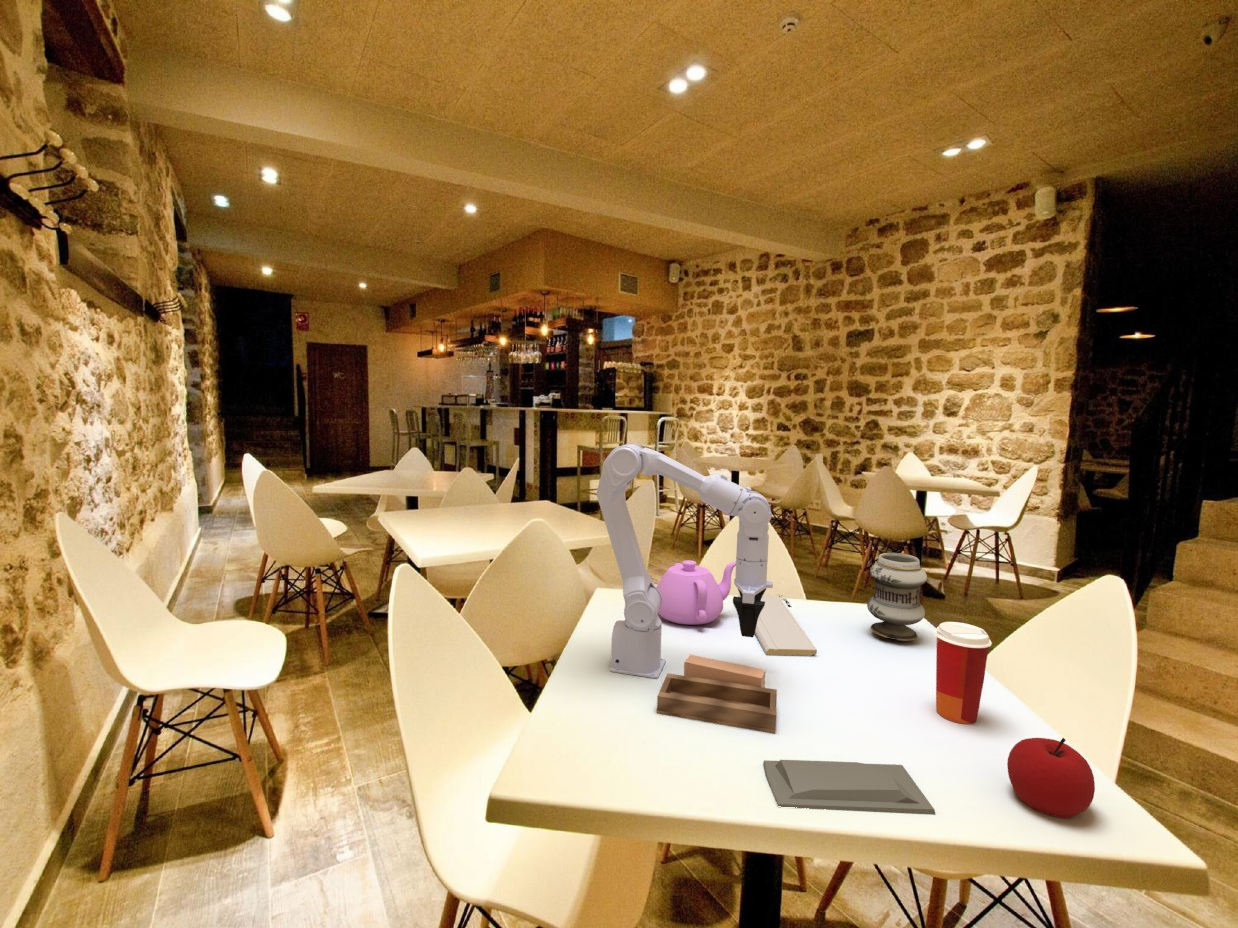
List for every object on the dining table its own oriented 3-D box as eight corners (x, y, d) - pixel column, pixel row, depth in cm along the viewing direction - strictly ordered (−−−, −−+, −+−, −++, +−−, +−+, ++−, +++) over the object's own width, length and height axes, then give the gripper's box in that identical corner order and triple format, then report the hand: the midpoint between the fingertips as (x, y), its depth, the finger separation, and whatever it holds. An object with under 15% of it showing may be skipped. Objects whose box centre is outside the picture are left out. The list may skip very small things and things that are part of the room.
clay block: (683, 687, 105) (684, 661, 105) (689, 679, 108) (690, 654, 108) (760, 705, 99) (761, 678, 99) (764, 696, 102) (765, 669, 102)
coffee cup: (977, 707, 100) (984, 624, 98) (990, 732, 92) (999, 642, 90) (923, 698, 102) (930, 617, 101) (932, 721, 95) (939, 634, 93)
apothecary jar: (866, 637, 130) (871, 559, 128) (865, 619, 141) (870, 548, 139) (925, 646, 125) (932, 566, 123) (920, 627, 136) (925, 553, 134)
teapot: (757, 629, 133) (759, 571, 132) (668, 636, 128) (670, 576, 127) (719, 598, 154) (721, 548, 153) (642, 603, 149) (643, 551, 148)
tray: (656, 716, 95) (657, 696, 94) (667, 691, 103) (667, 672, 103) (775, 736, 89) (776, 715, 89) (775, 708, 98) (776, 688, 98)
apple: (1046, 781, 80) (1053, 713, 79) (1111, 828, 71) (1120, 752, 70) (988, 787, 78) (994, 718, 77) (1047, 835, 70) (1055, 758, 69)
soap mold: (938, 828, 71) (940, 802, 71) (777, 822, 72) (779, 796, 71) (900, 775, 82) (901, 752, 81) (759, 770, 82) (760, 747, 82)
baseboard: (824, 649, 119) (766, 648, 119) (823, 662, 119) (765, 661, 119) (783, 594, 149) (737, 593, 150) (782, 605, 150) (737, 603, 150)
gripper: (773, 570, 98) (769, 646, 100) (774, 550, 112) (771, 617, 114) (731, 566, 100) (728, 641, 102) (738, 547, 114) (735, 613, 115)
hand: (748, 628), depth 108 cm, fingers open, 7 cm apart
